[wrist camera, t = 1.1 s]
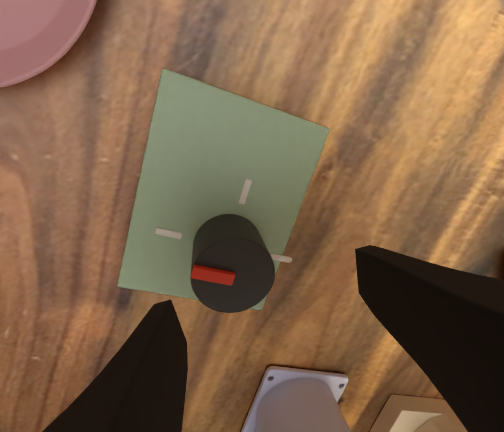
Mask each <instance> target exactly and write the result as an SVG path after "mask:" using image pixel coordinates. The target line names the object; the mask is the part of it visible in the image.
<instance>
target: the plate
mask: <svg viewBox="0 0 504 432" xmlns="http://www.w3.org/2000/svg"><path fill="white" fill-rule="evenodd" d="M96 2H97V0H0V88H3V87H7V86H11V85H14V84H18V83H21V82H23V81H26V80H28V79H30V78H32V77H34V76H36V75H38V74H40V73H42V72H43V71H45V70H46V69H48V68H49V67H51V66H52V65H54V64H55V63H56V62H57V61H59V60H60V59H61V58H62V57H63V56H64V55H65V54H66V53H67V52H68V51H69V50H70V49H71V48H72V46H73V45H74V44H75V42H76V41H77V40H78V38H79V37H80V35H81V34H82V32H83V31H84V29H85V27H86V26H87V24H88V22H89V20H90V18H91V15H92V13H93V11H94V8H95V5H96Z"/></svg>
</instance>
